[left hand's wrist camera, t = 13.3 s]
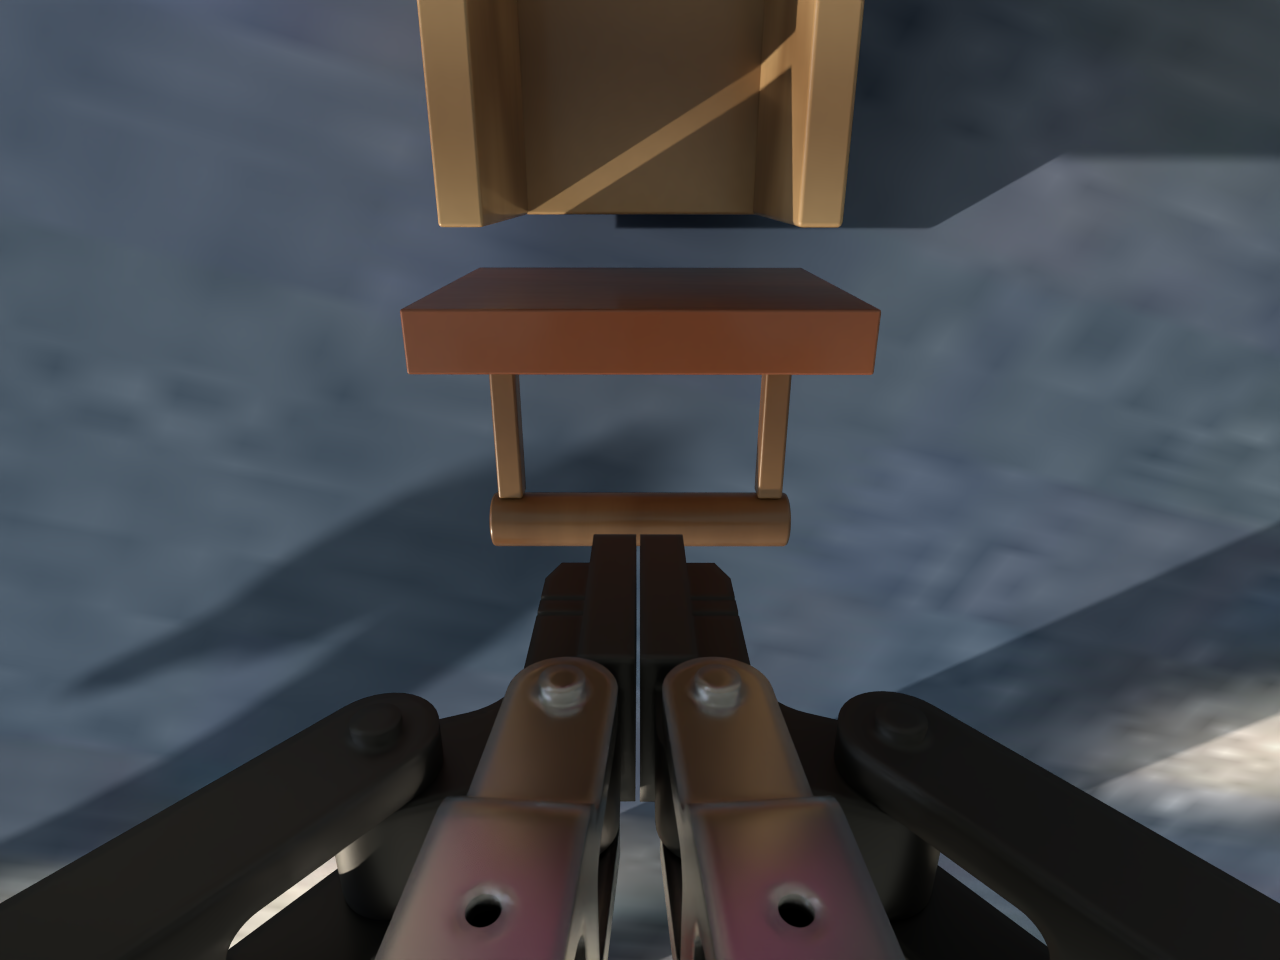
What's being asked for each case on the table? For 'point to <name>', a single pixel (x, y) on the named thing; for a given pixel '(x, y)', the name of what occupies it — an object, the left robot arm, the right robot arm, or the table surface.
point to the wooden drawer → (640, 184)
